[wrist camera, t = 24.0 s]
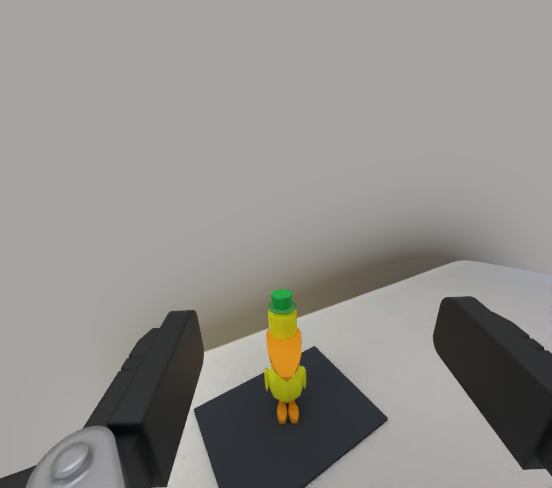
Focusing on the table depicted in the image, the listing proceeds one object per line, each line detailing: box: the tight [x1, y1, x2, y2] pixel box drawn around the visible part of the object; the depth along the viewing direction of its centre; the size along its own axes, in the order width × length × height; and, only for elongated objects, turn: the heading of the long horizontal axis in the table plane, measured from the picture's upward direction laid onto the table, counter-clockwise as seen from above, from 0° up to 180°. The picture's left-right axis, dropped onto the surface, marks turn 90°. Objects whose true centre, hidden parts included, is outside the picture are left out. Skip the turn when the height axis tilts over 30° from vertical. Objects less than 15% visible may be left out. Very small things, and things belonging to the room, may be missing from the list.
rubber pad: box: [194, 346, 388, 488], centre depth 24 cm, size 14×10×1 cm
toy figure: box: [264, 289, 306, 424], centre depth 21 cm, size 7×4×12 cm, turn 1°
